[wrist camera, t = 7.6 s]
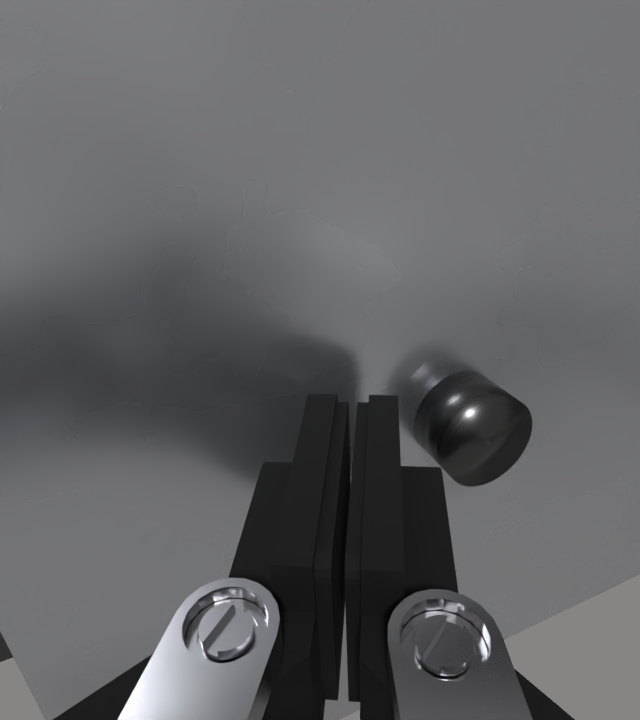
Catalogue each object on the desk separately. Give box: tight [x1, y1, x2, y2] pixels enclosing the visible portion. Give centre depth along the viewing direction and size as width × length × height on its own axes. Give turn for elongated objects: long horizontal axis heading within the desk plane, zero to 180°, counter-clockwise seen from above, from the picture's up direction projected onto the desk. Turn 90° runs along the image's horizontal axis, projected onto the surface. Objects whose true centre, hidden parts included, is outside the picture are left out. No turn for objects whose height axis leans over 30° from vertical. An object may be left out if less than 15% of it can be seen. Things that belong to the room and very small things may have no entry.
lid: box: [0, 0, 640, 720], centre depth 11 cm, size 21×18×2 cm
